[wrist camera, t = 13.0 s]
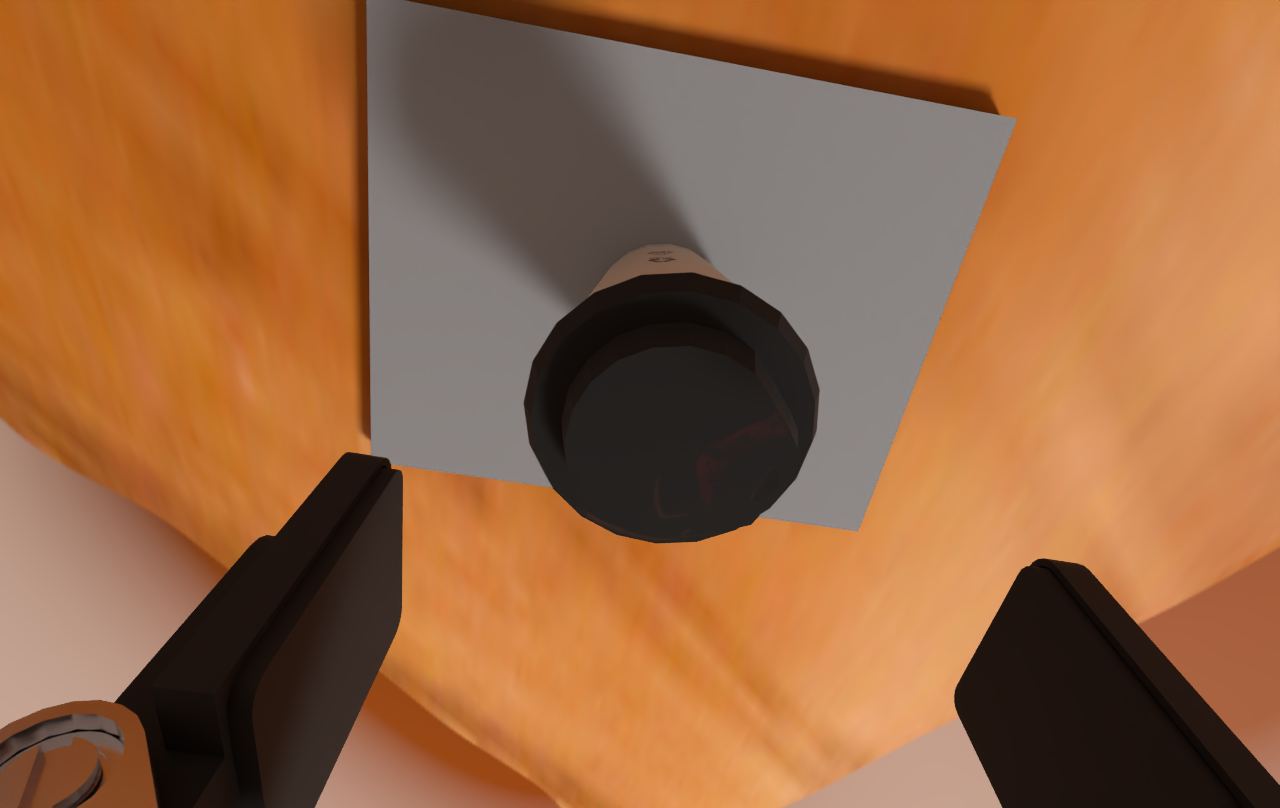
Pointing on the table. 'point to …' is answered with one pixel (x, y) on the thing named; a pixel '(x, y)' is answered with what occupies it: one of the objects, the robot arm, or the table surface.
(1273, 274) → the table surface
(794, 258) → the desk mat
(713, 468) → the coffee cup
